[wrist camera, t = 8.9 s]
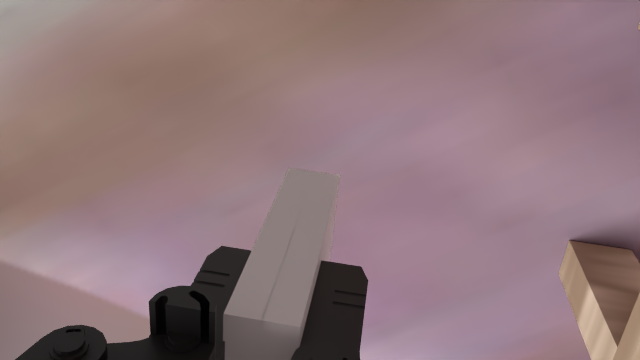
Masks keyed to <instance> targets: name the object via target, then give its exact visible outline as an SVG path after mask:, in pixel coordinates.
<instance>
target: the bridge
mask: <svg viewBox="0 0 640 360" xmlns="http://www.w3.org/2000/svg"><path fill="white" fill-rule="evenodd" d="M638 29H639V30H640V23H639V26H638ZM559 276H560V279H561V281H562V284H563V286H564V289H565V292H566V294H567V297H568V300H569V302H570V305H571V307H572V310H573V313H574V315H575V318H576V321H577V323H578V326H579V329H580V331H581V334H582V336H583V339H584V342H585V344H586V347H587V350H588V352H589V355H590V357H591V360H640V263H639V261H638V260H637V258H636V257H635V255H634V253H633V252H632V250H628V249H622V248H616V247H609V246H603V245H596V244H590V243H583V242H577V241H570V240H569V243H568V246H567V249H566V252H565V255H564V258H563V261H562V265H561V268H560V271H559Z"/></svg>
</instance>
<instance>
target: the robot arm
mask: <svg viewBox="0 0 640 360" xmlns="http://www.w3.org/2000/svg"><path fill="white" fill-rule="evenodd" d="M339 181H340V175H336V174H329V173H322V172H315V171H308V170H301V169H295V168H289V169H288V171H287V173H286V175H285V178H284V180H283V182H282V184H281V187H280V189H279V191H278V193H277V195H276V198H275V200H274V202H273V204H272V207H271V209H270V211H269V213H268V216H267V218H266V220H265V222H264V224H263V227H262V229H261V231H260V233H259V236H258V238H257V240H256V242H255V245H254V247H253V249H252V251H250V250H244V249H238V248H231V247H225V246H221V247H220V248H218V249H217V250H215V251H214V252H213V253H211V254H210V255H208V256H207V258H206V260H205V261H204V263H203V265H202V267H201V268H200V272H198V274H197V276H196V277H195V279H194V283H192V285H191V286H176V287H172V288H167V289H165V290H163V291H161V292H159V293H157V294H156V295H155V296H154V297H153V298H152V299H151V300H150V301H149V313H150V331H151V334H150V336H149V338H146V339H144V340H140V341H133V342H124V343H110V344H107V341H106V339H105V337H104V335H103V333H102V332H100V331H99V330H97V329H96V328H94V327H89V326H84V325H75V326H66V327H63V328H60V329H57V330H54V331H52V332H51V333H49V334H47V335H46V336H44V337H43V338H41V339H40V340H39V341H38V342H37V343H35V344H34V345H33V346H32V347H30V348H29V349H28V350H27V351H25V352H24V353H23V354H22V355H20V356H19V357H18V358H17V359H15V360H360V352H359V351H360V343H361V335H362V326H363V318H364V310H365V302H366V293H367V285H368V280H367V277H366V275H365V273H364V271H363V269H362V267H360V266H353V265H347V264H341V263H334V262H329V260H330V256H331V249H332V241H333V232H334V224H335V215H336V207H337V198H338V190H339Z"/></svg>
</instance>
